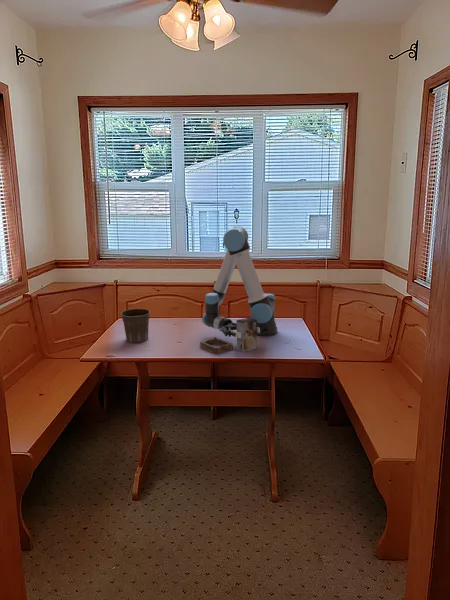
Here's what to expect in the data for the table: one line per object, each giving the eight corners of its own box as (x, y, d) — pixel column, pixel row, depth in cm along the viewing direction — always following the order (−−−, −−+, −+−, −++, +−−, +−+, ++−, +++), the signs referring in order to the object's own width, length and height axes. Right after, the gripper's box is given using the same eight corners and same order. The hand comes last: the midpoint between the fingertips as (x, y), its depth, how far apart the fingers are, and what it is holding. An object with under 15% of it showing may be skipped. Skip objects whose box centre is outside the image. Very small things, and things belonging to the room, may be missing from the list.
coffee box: (249, 345, 238) (249, 316, 234) (257, 348, 233) (257, 319, 229) (236, 349, 233) (236, 319, 229) (243, 352, 228) (243, 322, 224)
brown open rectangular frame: (215, 342, 244) (215, 337, 243) (233, 349, 233) (233, 343, 232) (199, 346, 237) (198, 341, 236) (217, 354, 226) (217, 348, 225)
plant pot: (145, 345, 240) (143, 316, 236) (117, 343, 243) (115, 315, 240) (155, 336, 256) (154, 309, 252) (129, 334, 259) (128, 308, 255)
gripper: (240, 326, 253) (266, 334, 237) (206, 335, 237) (232, 345, 222) (239, 313, 251) (266, 321, 236) (205, 322, 235) (232, 331, 220)
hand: (250, 333), depth 229 cm, fingers open, 13 cm apart
